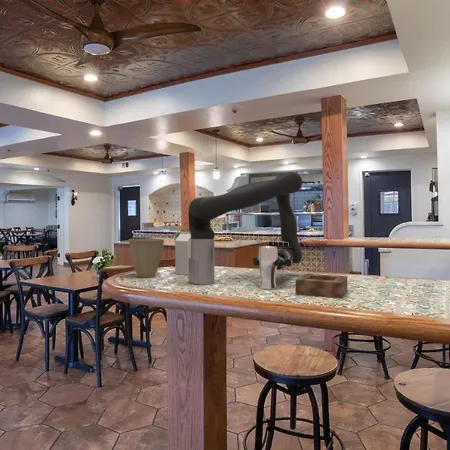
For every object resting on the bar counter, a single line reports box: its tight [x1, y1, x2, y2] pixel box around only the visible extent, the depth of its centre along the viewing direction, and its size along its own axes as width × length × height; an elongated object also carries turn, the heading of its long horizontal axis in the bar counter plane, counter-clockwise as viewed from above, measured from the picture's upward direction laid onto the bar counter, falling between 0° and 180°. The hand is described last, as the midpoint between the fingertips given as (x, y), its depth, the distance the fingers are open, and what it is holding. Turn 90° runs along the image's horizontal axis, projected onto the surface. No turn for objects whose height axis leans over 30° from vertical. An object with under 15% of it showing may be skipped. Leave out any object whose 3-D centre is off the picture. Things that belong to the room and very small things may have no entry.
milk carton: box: [174, 231, 191, 276], centre depth 176 cm, size 7×7×19 cm
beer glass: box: [258, 245, 278, 291], centre depth 143 cm, size 7×7×15 cm
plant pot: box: [128, 238, 165, 279], centre depth 168 cm, size 15×15×16 cm
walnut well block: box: [294, 273, 348, 299], centre depth 135 cm, size 15×15×5 cm
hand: (267, 263), depth 142 cm, fingers open, 8 cm apart
